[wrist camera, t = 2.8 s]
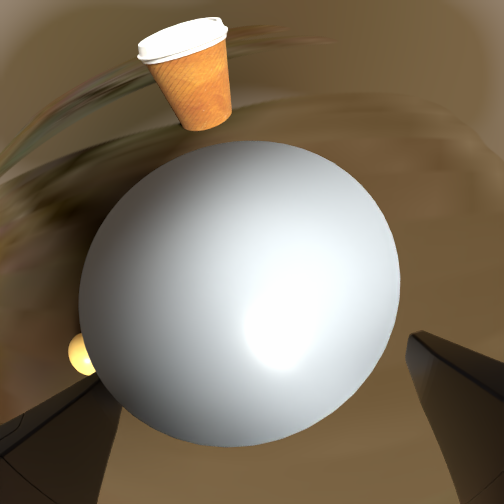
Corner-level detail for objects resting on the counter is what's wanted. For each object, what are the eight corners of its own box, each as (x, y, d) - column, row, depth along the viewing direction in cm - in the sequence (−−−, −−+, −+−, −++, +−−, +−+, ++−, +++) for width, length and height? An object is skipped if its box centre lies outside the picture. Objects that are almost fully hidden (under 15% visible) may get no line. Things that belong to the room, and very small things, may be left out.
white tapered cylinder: (289, 424, 14) (271, 514, 3) (196, 364, 16) (42, 303, 5) (347, 328, 16) (433, 203, 5) (255, 279, 19) (199, 121, 8)
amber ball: (103, 386, 16) (75, 381, 13) (81, 359, 17) (54, 351, 14) (124, 355, 17) (97, 346, 14) (100, 330, 18) (74, 318, 16)
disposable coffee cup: (193, 151, 26) (154, 50, 16) (157, 124, 31) (122, 48, 20) (262, 110, 28) (245, 16, 18) (216, 91, 33) (195, 16, 22)
